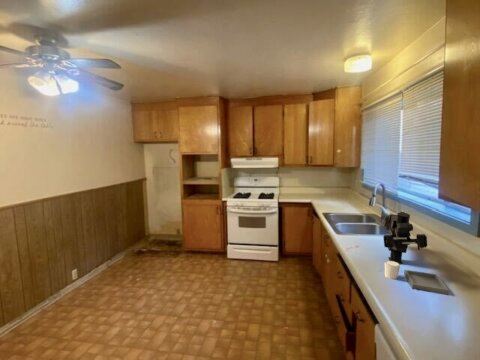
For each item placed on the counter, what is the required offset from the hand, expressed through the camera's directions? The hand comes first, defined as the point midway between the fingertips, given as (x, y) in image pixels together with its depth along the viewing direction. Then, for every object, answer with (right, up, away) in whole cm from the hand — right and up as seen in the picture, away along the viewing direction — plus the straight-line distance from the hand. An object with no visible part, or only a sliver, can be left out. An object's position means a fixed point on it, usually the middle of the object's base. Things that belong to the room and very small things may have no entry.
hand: (407, 249), depth 131 cm
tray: (+8, -16, +1) cm, 18 cm away
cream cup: (-4, -16, +7) cm, 18 cm away
